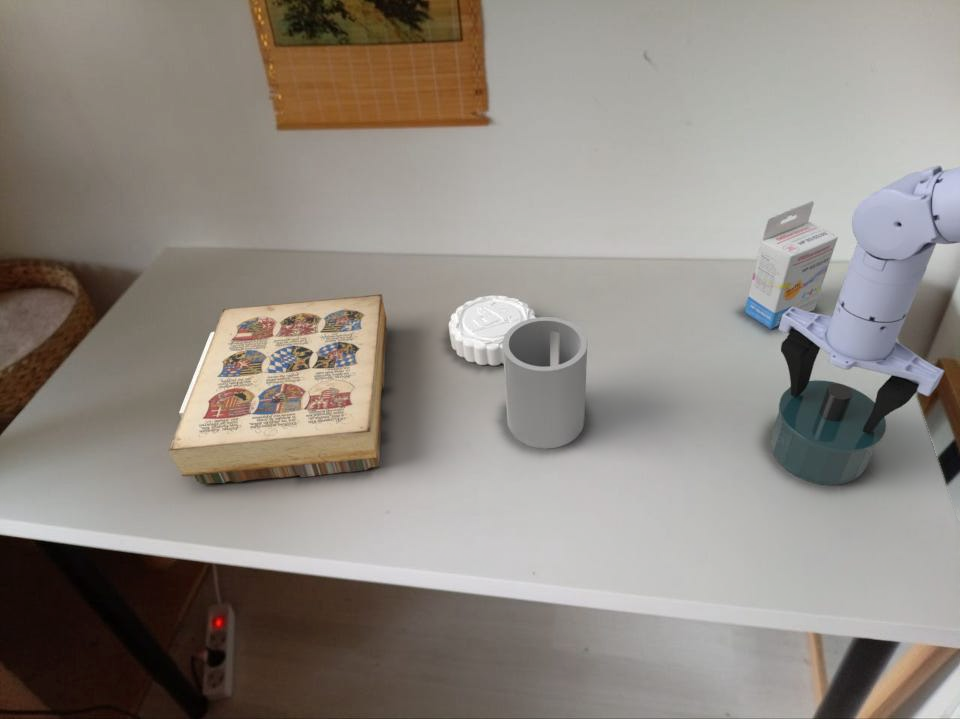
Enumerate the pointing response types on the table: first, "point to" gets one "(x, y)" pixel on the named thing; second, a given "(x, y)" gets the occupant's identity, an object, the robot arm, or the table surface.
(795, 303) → the ink box
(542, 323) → the cup
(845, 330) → the robot arm
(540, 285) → the table surface
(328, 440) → the book
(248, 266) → the table surface
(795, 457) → the tin
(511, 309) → the mooncake
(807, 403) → the tin lid
